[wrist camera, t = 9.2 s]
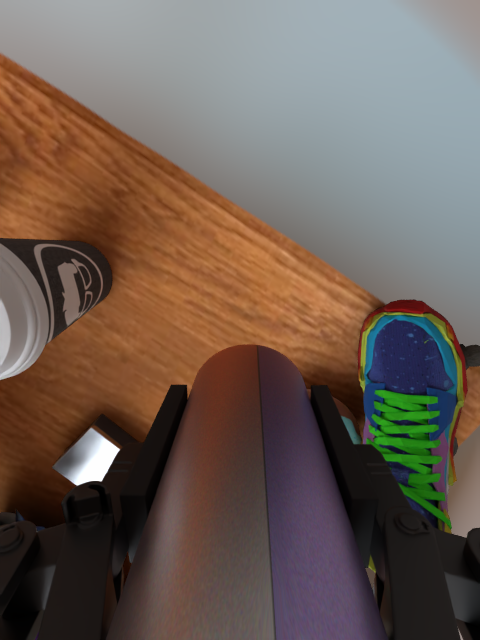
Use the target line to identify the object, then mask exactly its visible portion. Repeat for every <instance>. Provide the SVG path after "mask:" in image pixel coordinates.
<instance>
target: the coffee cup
mask: <svg viewBox="0 0 480 640" xmlns="http://www.w3.org/2000/svg"><path fill="white" fill-rule="evenodd" d="M111 285H112V272H111V268H110V265H109V263H108V261H107V260H106V258H105V257H104V255H103V254H102V253H101V252H100V251H99V250H98V249H96V248H95V247H93V246H92V245H90V244H87V243H84V242H80V241H62V240H34V239H8V238H0V380H2V379H5V378H9V377H12V376H15V375H17V374H19V373H21V372H23V371H25V370H26V369H27V368H29V367H30V366H31V365H32V364H33V363H34V362H35V361H36V360H37V359H38V357H39V356H40V354H41V353H42V351H43V349H44V347H45V345H46V344H47V343H49V342H50V341H51V340H52V339H54V338H55V337H56V336H57V335H59V334H60V333H61V332H62V331H64V330H65V329H66V328H68V327H69V326H70V325H71V324H73V323H74V322H75V321H76V320H78V319H79V318H80V317H82V316H83V315H84V314H85V313H87V312H88V311H89V310H91V309H92V308H93V307H94V306H96V305H97V304H98V303H100V302H101V301H102V300H103V299H104V298H105V297H106V296H107V295H108V293H109V291H110V289H111Z"/></svg>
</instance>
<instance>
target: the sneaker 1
mask: <svg viewBox="0 0 480 640" xmlns="http://www.w3.org/2000/svg"><path fill="white" fill-rule="evenodd" d="M15 518H16V515H15V514H14V513H9V512H1V513H0V529H1V528H3V527H5V526H7V525H9V524H11V523H14V522H16V519H15Z"/></svg>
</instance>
